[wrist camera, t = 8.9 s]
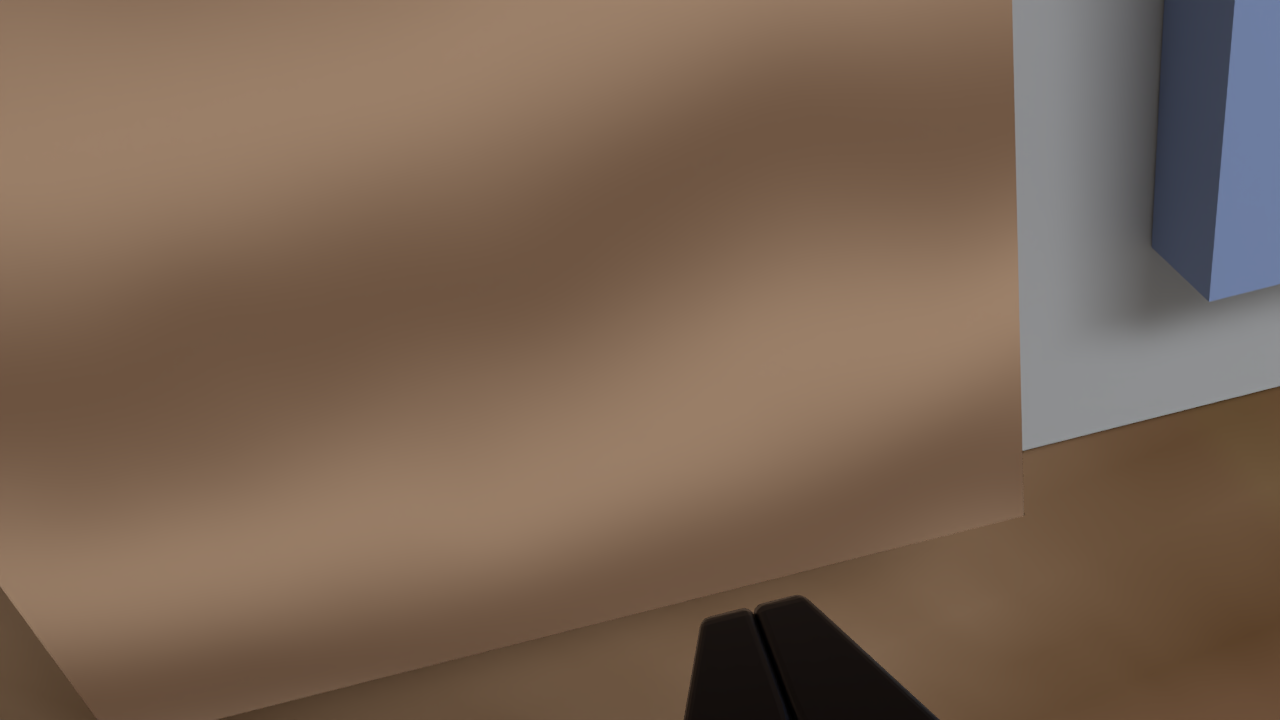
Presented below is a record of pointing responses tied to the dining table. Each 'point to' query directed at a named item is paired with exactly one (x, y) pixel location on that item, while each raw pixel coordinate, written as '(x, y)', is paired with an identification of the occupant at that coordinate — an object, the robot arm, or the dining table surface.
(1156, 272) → the mat
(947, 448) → the board
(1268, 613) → the dining table surface
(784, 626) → the robot arm
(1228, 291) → the card box
